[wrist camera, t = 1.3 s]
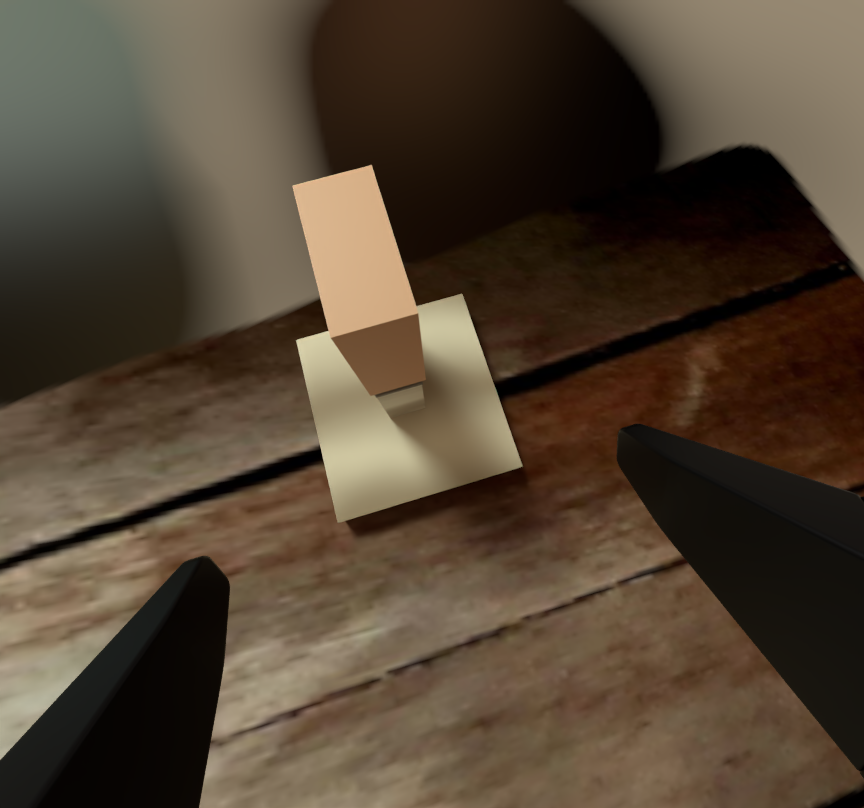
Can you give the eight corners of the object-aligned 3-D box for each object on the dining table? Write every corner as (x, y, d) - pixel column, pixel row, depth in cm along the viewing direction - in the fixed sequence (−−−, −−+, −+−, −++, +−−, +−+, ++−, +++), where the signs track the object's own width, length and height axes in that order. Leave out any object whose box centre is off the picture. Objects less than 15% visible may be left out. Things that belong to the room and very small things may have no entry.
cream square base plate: (517, 468, 21) (547, 458, 15) (344, 520, 21) (306, 531, 15) (460, 306, 24) (467, 241, 18) (305, 349, 23) (258, 298, 17)
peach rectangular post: (426, 379, 16) (418, 313, 10) (370, 396, 16) (330, 337, 10) (394, 278, 17) (371, 164, 11) (343, 292, 17) (292, 185, 11)
